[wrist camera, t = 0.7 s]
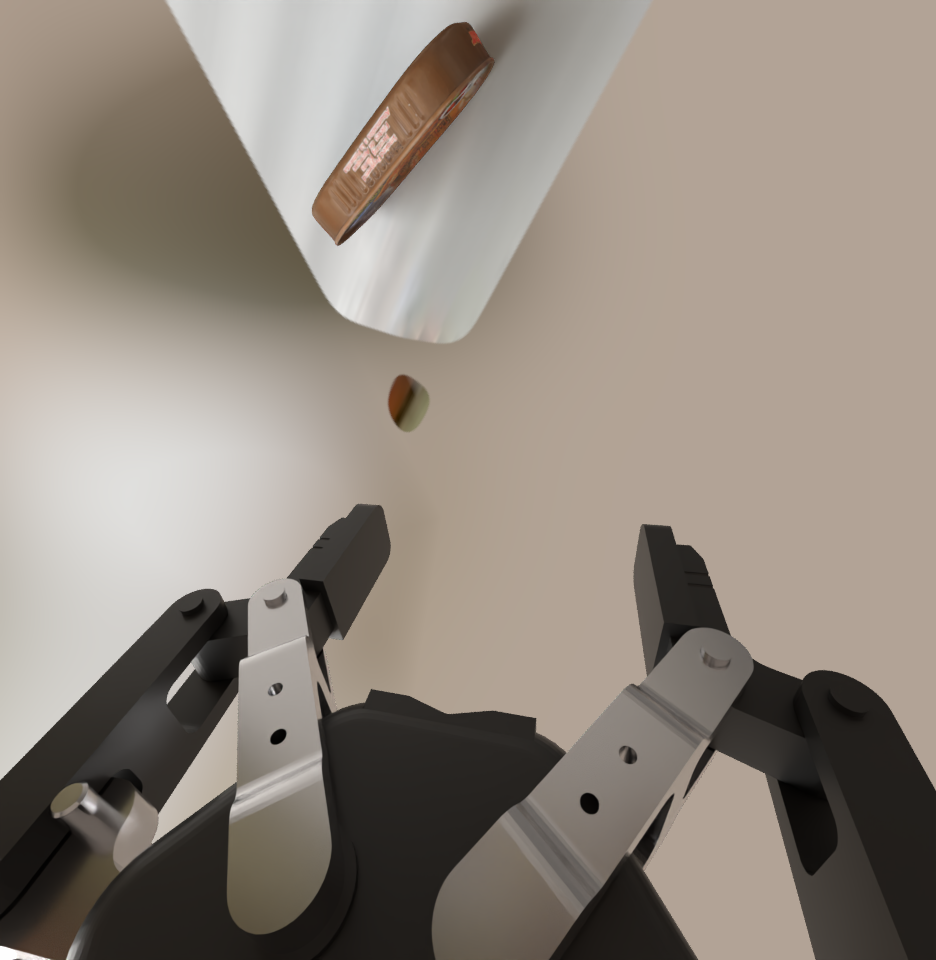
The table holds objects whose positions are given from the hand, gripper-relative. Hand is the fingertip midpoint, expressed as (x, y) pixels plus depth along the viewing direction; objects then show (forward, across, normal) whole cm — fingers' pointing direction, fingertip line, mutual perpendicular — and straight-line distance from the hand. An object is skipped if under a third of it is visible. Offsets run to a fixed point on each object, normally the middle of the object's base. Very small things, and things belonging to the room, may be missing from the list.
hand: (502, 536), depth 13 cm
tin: (+27, +11, -14) cm, 33 cm away
